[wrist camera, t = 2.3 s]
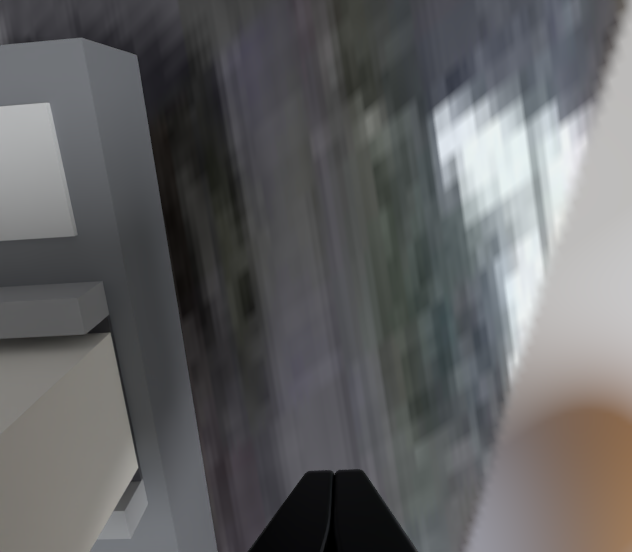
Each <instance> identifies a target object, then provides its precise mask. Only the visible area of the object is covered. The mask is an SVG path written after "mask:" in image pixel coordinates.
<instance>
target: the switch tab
mask: <svg viewBox="0 0 632 552" xmlns="http://www.w3.org/2000/svg"><path fill="white" fill-rule="evenodd" d="M137 469H138V463H137V459H136V454H135V449H134V444H133V439H132V434H131V429H130V425H129V420H128V415H127V410H126V405H125V400H124V395H123V391H122V386H121V381H120V376H119V371H118V366H117V361H116V357H115V352H114V347H113V342H112V337H111V332H110V333H91V334H84V335H64V336H45V337H26V338H7V339H0V552H90V550H91V548H92V547H93V545H94V543H95V541H96V540H97V538H98V536H99V535H100V533H101V531H102V529H103V528H104V526H105V524H106V523H107V521H108V519H109V517H110V516H111V514H112V512H113V510H114V509H115V507H116V505H117V504H118V502H119V500H120V498H121V497H122V495H123V493H124V492H125V490H126V488H127V486H128V485H129V483H130V481H131V480H132V478H133V476H134V474H135V473H136V471H137Z"/></svg>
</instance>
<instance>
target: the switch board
mask: <svg viewBox="0 0 632 552" xmlns="http://www.w3.org/2000/svg"><path fill="white" fill-rule="evenodd" d="M110 332H111V337H112V342H113V347H114V352H115V357H116V361H117V366H118V371H119V376H120V381H121V386H122V391H123V395H124V400H125V405H126V410H127V415H128V420H129V425H130V429H131V434H132V439H133V444H134V449H135V454H136V459H137V463H138V469H137V471H136V473H135V474H134V476H133V478H132V480H131V481H130V483H129V485H128V486H127V488H126V490H125V492H124V493H123V495H122V497H121V498H120V500H119V502H118V504H117V505H116V507H115V509H114V510H113V512H112V514H111V516H110V517H109V519H108V521H107V523H106V524H105V526H104V528H103V529H102V531H101V533H100V535H99V536H98V538H97V540H96V541H95V543H94V545H93V547H92V548H91V550H90V552H218V551H217V545H216V539H215V533H214V527H213V521H212V514H211V508H210V502H209V496H208V490H207V484H206V477H205V471H204V465H203V459H202V453H201V447H200V441H199V434H198V428H197V422H196V416H195V410H194V404H193V397H192V391H191V385H190V379H189V373H188V367H187V360H186V354H185V348H184V342H183V336H182V330H181V324H180V317H179V311H178V305H177V299H176V293H175V287H174V280H173V274H172V268H171V262H170V256H169V250H168V243H167V237H166V231H165V225H164V219H163V213H162V206H161V200H160V194H159V188H158V182H157V176H156V170H155V163H154V157H153V151H152V145H151V139H150V133H149V126H148V120H147V114H146V108H145V102H144V96H143V89H142V83H141V77H140V71H139V65H138V59H137V55H135V54H131V53H128V52H125V51H122V50H119V49H116V48H112V47H109V46H106V45H103V44H100V43H97V42H93V41H90V40H87V39H84V38H73V39H62V40H51V41H40V42H29V43H18V44H7V45H0V339H7V338H26V337H45V336H64V335H84V334H91V333H110Z"/></svg>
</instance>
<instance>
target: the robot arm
mask: <svg viewBox="0 0 632 552" xmlns="http://www.w3.org/2000/svg"><path fill="white" fill-rule="evenodd" d="M248 552H418V551H417V549H416V548H415V546H414V545H413V543H412V542H411V540H410V539H409V537H408V536H407V535H406V533H405V532H404V530H403V529H402V527H401V526H400V524H399V523H398V521H397V520H396V518H395V517H394V515H393V514H392V512H391V511H390V509H389V508H388V507H387V505H386V504H385V502H384V501H383V499H382V498H381V496H380V495H379V493H378V492H377V490H376V489H375V487H374V486H373V484H372V483H371V481H370V480H369V478H368V477H367V476H366V474H365V473H364V472H363V471H362V470H360V469H353V470H338V471H337V472H336V473H335V475H334V473H333V471H331V470H321V471H308V472H307V473H305V474H304V476H303V477H302V479H301V480H300V481H299V483H298V484H297V485H296V487H295V488H294V489H293V491H292V492H291V494H290V495H289V496H288V498H287V499H286V500H285V502H284V503H283V504H282V506H281V507H280V509H279V510H278V511H277V513H276V514H275V515H274V517H273V518H272V520H271V521H270V522H269V524H268V525H267V526H266V528H265V529H264V530H263V532H262V533H261V535H260V536H259V537H258V539H257V540H256V541H255V543H254V544H253V545H252V547H251V548H250V550H249V551H248Z"/></svg>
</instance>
